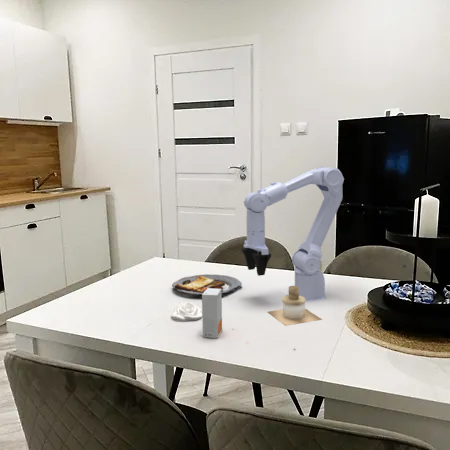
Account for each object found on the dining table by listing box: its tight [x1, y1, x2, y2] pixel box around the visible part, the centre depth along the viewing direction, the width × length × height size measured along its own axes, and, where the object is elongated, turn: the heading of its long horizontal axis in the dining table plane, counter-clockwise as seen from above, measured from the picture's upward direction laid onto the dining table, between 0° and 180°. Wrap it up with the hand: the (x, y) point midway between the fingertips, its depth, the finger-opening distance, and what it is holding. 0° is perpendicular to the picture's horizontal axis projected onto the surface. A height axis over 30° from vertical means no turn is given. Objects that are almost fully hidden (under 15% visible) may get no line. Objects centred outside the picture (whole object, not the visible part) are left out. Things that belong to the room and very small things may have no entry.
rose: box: [170, 302, 202, 322], centre depth 137 cm, size 10×4×10 cm
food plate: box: [171, 274, 243, 296], centre depth 164 cm, size 25×23×4 cm
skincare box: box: [201, 288, 223, 339], centre depth 123 cm, size 6×4×12 cm
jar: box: [282, 302, 306, 319], centre depth 134 cm, size 6×6×4 cm
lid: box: [281, 285, 306, 305], centre depth 133 cm, size 7×7×4 cm
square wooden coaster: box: [267, 308, 323, 327], centre depth 134 cm, size 12×12×1 cm
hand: (256, 272), depth 146 cm, fingers open, 7 cm apart
